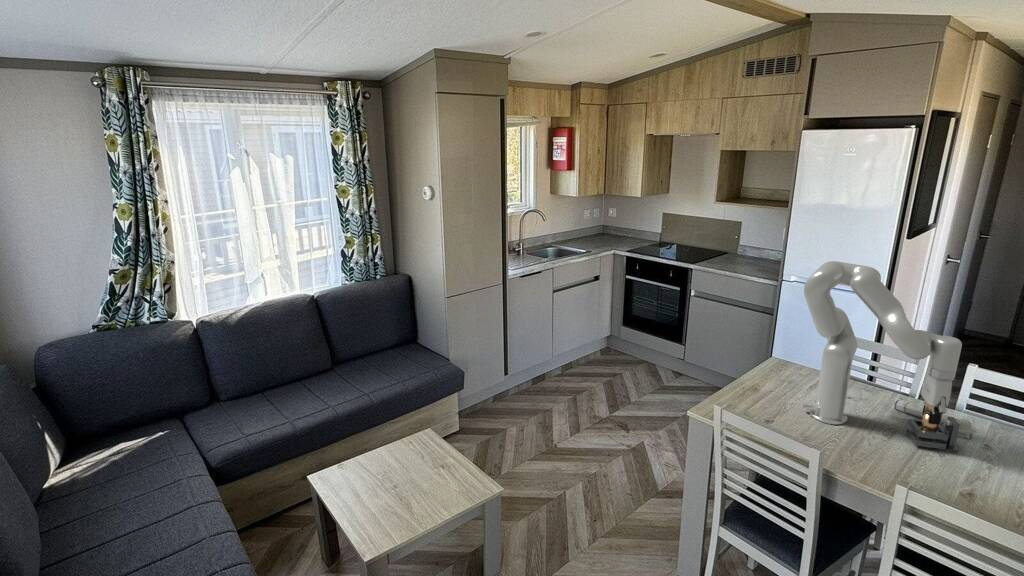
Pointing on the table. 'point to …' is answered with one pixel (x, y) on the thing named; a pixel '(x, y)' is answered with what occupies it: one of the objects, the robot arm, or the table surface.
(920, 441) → the collar bracket
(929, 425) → the copper tube
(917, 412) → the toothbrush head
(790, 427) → the table surface
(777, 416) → the table surface
